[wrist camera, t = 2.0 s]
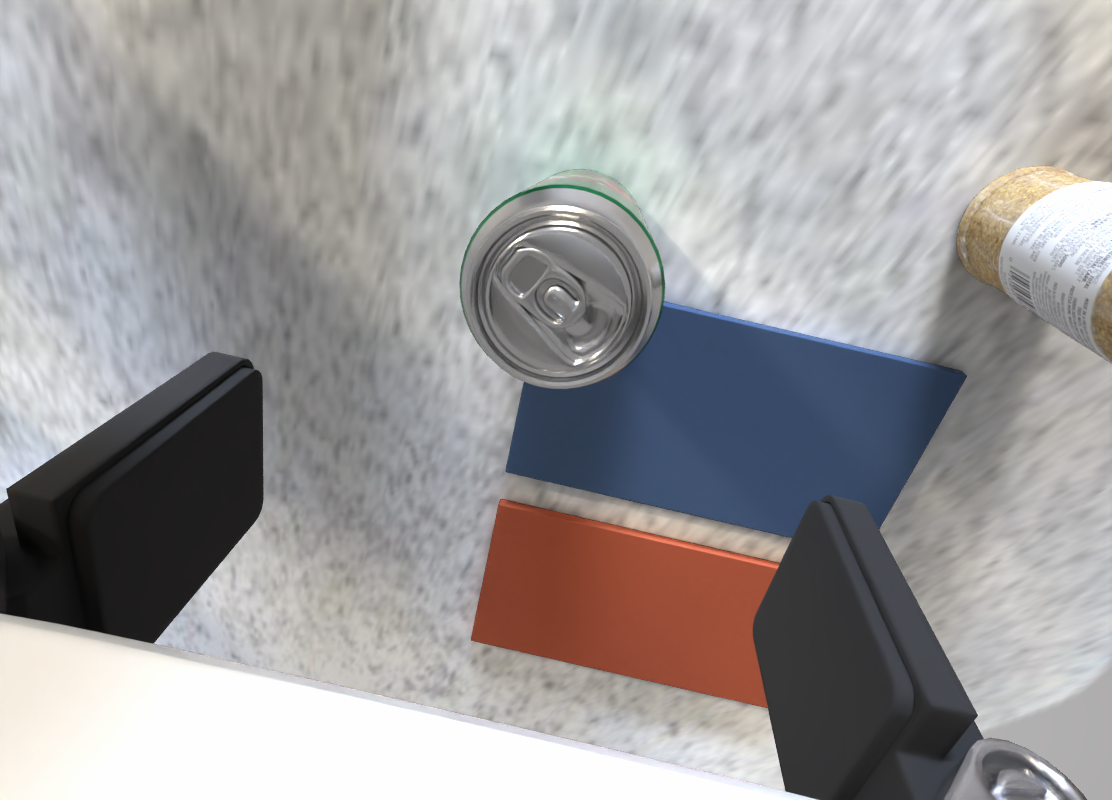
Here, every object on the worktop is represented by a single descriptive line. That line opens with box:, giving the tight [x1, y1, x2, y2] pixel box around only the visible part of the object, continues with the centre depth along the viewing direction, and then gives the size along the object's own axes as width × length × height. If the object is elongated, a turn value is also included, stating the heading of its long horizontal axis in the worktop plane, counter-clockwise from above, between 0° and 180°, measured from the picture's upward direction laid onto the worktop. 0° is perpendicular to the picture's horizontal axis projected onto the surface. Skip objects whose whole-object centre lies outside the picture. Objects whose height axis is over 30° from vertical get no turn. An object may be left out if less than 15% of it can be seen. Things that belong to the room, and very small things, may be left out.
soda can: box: [460, 169, 665, 389], centre depth 21 cm, size 5×5×12 cm
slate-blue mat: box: [506, 302, 967, 538], centre depth 29 cm, size 18×10×1 cm, turn 78°
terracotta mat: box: [471, 499, 780, 708], centre depth 35 cm, size 18×10×1 cm, turn 78°
